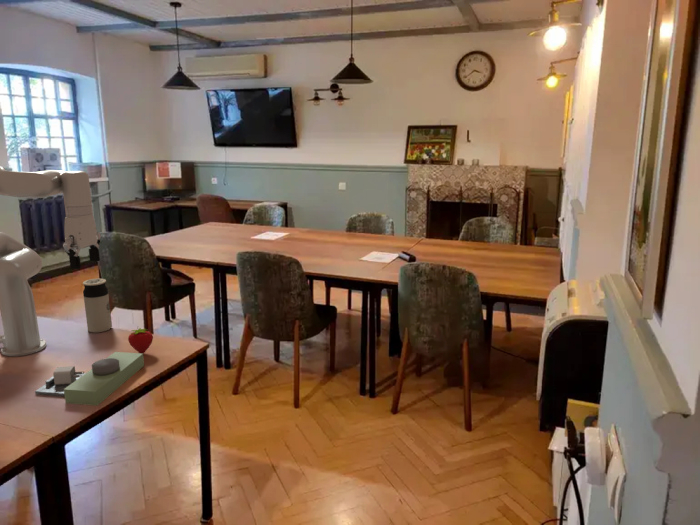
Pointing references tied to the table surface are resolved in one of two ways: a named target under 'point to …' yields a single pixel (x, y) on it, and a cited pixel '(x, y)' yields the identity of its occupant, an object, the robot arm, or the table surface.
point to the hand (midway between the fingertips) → (85, 264)
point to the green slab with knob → (103, 378)
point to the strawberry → (140, 340)
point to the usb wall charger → (65, 375)
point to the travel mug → (97, 305)
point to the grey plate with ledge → (53, 388)
